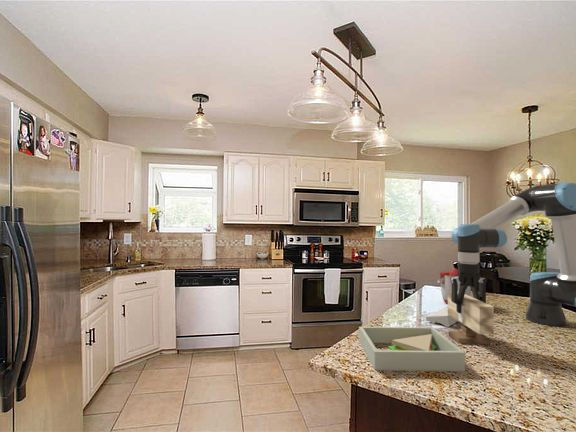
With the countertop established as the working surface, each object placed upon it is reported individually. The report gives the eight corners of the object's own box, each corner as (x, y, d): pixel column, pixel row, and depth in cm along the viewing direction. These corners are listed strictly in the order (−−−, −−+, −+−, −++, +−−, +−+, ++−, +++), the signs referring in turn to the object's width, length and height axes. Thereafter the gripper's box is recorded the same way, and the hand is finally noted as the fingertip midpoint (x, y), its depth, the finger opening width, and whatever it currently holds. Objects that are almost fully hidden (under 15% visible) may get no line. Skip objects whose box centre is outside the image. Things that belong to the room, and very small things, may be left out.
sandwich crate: (432, 342, 124) (432, 327, 124) (465, 371, 100) (465, 352, 100) (359, 342, 124) (359, 326, 124) (374, 370, 100) (374, 351, 101)
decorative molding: (428, 327, 148) (450, 327, 141) (425, 316, 149) (447, 315, 142) (455, 312, 171) (475, 311, 164) (453, 303, 172) (472, 302, 165)
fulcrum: (477, 336, 131) (477, 323, 131) (490, 343, 123) (490, 330, 123) (448, 335, 131) (448, 323, 131) (458, 343, 123) (458, 330, 123)
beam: (459, 314, 139) (459, 291, 139) (493, 334, 115) (493, 306, 115) (447, 314, 139) (447, 291, 139) (479, 334, 115) (479, 306, 115)
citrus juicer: (433, 299, 190) (433, 265, 190) (464, 300, 188) (464, 266, 188) (442, 306, 175) (442, 270, 175) (476, 307, 172) (476, 270, 173)
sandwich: (459, 357, 111) (459, 343, 111) (422, 370, 102) (422, 354, 102) (422, 342, 125) (422, 329, 125) (385, 352, 115) (385, 338, 115)
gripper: (485, 261, 131) (485, 318, 130) (441, 261, 131) (441, 318, 131) (497, 264, 123) (497, 324, 123) (450, 263, 123) (450, 324, 123)
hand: (468, 321), depth 127 cm, fingers closed on beam, 5 cm apart
